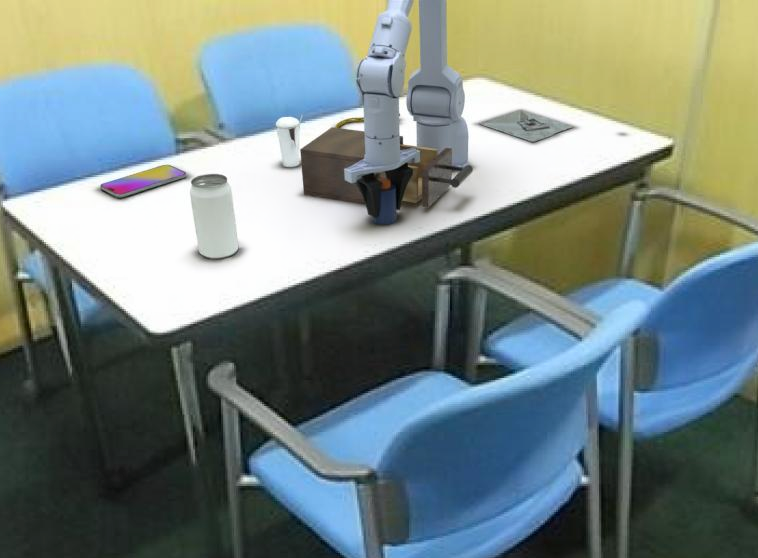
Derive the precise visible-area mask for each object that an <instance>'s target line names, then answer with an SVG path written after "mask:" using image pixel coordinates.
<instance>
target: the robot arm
mask: <svg viewBox="0 0 758 558" xmlns="http://www.w3.org/2000/svg"><path fill="white" fill-rule="evenodd" d="M414 2H415V0H387V5H386V10H385V11H383V12H381V13H380V14H379V15H378V16H377V18H376V21H375V25H374V29H373V33H372V37H371V40H370V43H369V48H368V51H367V55H366V56H365V57H364V58H362V59H361V60H360V61H359V62H358V65H357V68H356V73H355V74H356V75H355V77H356V78H355V86H356V90H357V92H358V94H359V95H358V96H359V103H360V106H362V107H363V108H362V109H363V117H364V119H363V120H364V121H363V129H364V130H363V131H364V133H365V155H364V159H363V160H361V161H359V162H358V163H356V164H354V165H353V166H351V167H348V168H346V169H344V175H345V180H346V181H348V182H350V183H356V185H357V186H358V188H359V190H360V192H361V194H362V196H363V199H364V201H365V204H364V205H365V208H366V211H367V215H368V216H371V218H372V217H374V218H376V217H378V216H379V196H380V190H381V186H382V182H381V181H379V180H377V179H376V177H375V175H374V174H377V173H380V172H383V171H385V174H386V178H387V179H390V181H391V183H393V184H395V185H396V207H397V211H399V210H401V207H402V203H403V201H402V199H403V195H404V192H405V189H406V186H407V184H408V182H409V180H410V179H411V177H412V175H413V169H412V168H410V167H408V164H409V163H412V162H414V163H418V162H420V151H419V150H416V149H414V148H411V149H407V150H400V136H401V135H400V131H401V130H400V116H399V113H400V95H401V94H402V92H403V88H404V86H405V77H406V66H407V65H406V64H407V62H406V60H405V56H406V53H407V49H408V46H409V41H410V38H411V33H412V30H413V25H412V23H411V20H410V19H409V16H410V13H411V10H412V8H413V4H414ZM447 5H448V4H447V0H418V23H419V24H418V26H419V27H418V29H419V58H420V59H419V61H420V63H419V64H420V67H419V68H417V69H416V70H414V71H413V72H412V73H411V75H410V76H409V79H408V81H407V93H406V97H405V98H406V101H405V103H406V108H407V112H408V113H409V115H410V116H412V117H413V119H412V120H413V122H416V146H418V147H426V148H434V149H438V154H440V153H441V152H442V151H443V150H444V149H445V148H452V166H457V167H465V166H466V165H470V164H469V128H468V124H467V121H466V120H465V118H464V117H463V116H462V115H463V112H464V108H465V103H466V101H465V100H466V95H465V89H464V82H463V76H462V75H461V74H460V73H458V71H456V70H455V69H453V68H452V67H451V66H450V65H448V22H447V21H448V18H447V16H448V15H447V14H448V12H447Z"/></svg>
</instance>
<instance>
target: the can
mask: <svg viewBox="0 0 758 558" xmlns="http://www.w3.org/2000/svg"><path fill="white" fill-rule="evenodd" d="M190 184H191V186H190V189H189V198H190V205H191V210H192V217H193V223H194V230H195V235H196V242H197V248H198V253H199V254H201V256H203V257H204V258H207V259H212V260H218V259H225V258H228V257H231V256H233V255H235V254H236V253H237V251H238V250H239V238H238V237H239V236H238V229H237V221H236V214H235V207H234V200H233V199H234V198H233V192H232V187H231V185H230V183H229V181H228V177H227V176H225V175H223V174H220V173H205V174H204V173H203V174H200V175H197V176H195V177H193V178H192V179H191V180H190Z"/></svg>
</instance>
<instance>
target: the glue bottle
mask: <svg viewBox="0 0 758 558" xmlns="http://www.w3.org/2000/svg"><path fill="white" fill-rule="evenodd" d="M378 180H379V181H381V182H382V186H381V190H380V196H379V216H378V217H376V218H374V217H372V216H371V220H372V223H374V224H377V225H381V226H386V225H387V226H388V225H391V224H395V223H396V222H397V221H398V219H397V218H398V213H397V212H398V210H397V207H396V185H395V184H393V183H391V181H390V179H387V178H381V179H378Z"/></svg>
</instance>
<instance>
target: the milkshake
mask: <svg viewBox="0 0 758 558" xmlns="http://www.w3.org/2000/svg"><path fill="white" fill-rule="evenodd" d="M302 118H303V113H301V116H300V119H297V118H296V117H293V116H282V117H280V118H279V119H278V120H277V121H276V122H275V129H276V133H277V138H278V143H279V148H280V155H281V160H282V165H283V167H284V168H285V167H286V168H297V167H298V166H300V129H301V127H300V126H301V120H302Z"/></svg>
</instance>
